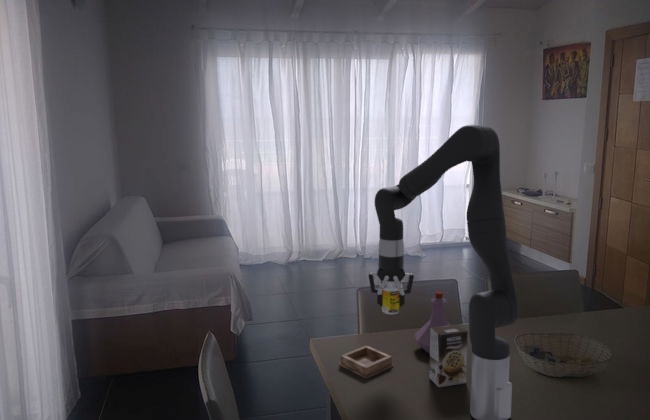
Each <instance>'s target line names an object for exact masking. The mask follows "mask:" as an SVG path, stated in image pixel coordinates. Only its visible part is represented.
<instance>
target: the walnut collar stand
mask: <svg viewBox="0 0 650 420" xmlns="http://www.w3.org/2000/svg"><path fill="white" fill-rule="evenodd" d="M339 367H342V368H344V369H346V370H348V371H349V372H352V373H354V374H356V375H358V376H360V377H362V378H364V380H365V379H366V380H367V379H369V378H371V377H373V376H376V375H378V374H380V373H382V372H385V371H387V370H389V369H391V368H393V367H394V363H393V356H392V355H389V354H387V353H385V352H382V351H381V350H378V349H377V348H373V347H371V346H369V345H367V344H366V345H364V346H361V347H357V348H356V349H354V350H351V351H348V352H346V353H343V354H341V355H340V362H339Z"/></svg>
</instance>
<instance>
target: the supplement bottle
mask: <svg viewBox="0 0 650 420" xmlns="http://www.w3.org/2000/svg"><path fill="white" fill-rule="evenodd" d="M400 309H401V307H400V291H399V289H398V287H397V285H396V283H395V281H387V283H386V285H385V287H384V289H383V291H382V306H381V311H382V312H383V314H386V315H396V314H399V313H400V311H401V310H400Z"/></svg>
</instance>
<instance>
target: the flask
mask: <svg viewBox="0 0 650 420" xmlns="http://www.w3.org/2000/svg"><path fill="white" fill-rule="evenodd" d="M443 295H444V293H443V291H435V292H434V296H435V297H433V298H431V304H432V311H431V314H430V318H429V320H428V321H426V323H425V324H424V325H423V326H422V327H421V328H419V329H418V330H417V331H416V332H415V333H414V334H413V335H414V337H415V340H416V343H418V345H419V346H420V347H421V348H422V349H423V350H424V351H425V353H427V354H430V331H431V327H439V326H447V325H451V324H450V322H448V319H447V314H446V310H445V306H446V304H447V299H445V298H444V297H443Z"/></svg>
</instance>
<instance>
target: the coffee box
mask: <svg viewBox="0 0 650 420" xmlns="http://www.w3.org/2000/svg"><path fill="white" fill-rule="evenodd" d="M468 332H469V330H466V328H463V327H462V326H460V325H459V324H450V325H447V326H439V327H431V331H430V353H429V375H428V377H429V379H430V380H431V381H432V382H433V383H434V384H435V386H436V387H438V388H444V387H449V386H456V385H463V384H466V383H467V367H468V365H467V363H468V361H467V359H468V358H467V357H468V335H469V333H468Z"/></svg>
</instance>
